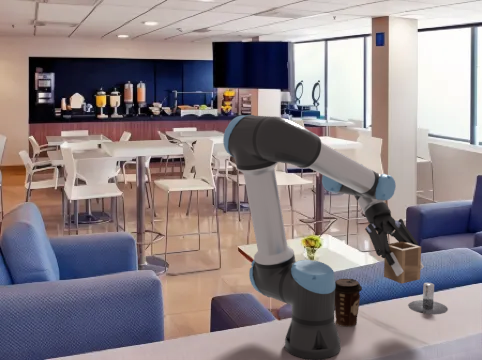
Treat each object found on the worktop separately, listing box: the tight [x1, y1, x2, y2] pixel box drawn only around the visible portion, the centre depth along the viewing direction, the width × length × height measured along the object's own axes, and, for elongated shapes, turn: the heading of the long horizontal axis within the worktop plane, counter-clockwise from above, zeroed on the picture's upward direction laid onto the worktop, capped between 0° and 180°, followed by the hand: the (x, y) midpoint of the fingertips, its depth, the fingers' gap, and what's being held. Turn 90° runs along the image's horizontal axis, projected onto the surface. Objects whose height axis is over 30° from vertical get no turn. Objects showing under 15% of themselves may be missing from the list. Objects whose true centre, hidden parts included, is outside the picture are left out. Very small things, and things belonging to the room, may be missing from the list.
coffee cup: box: [334, 278, 363, 327], centre depth 181 cm, size 9×8×13 cm
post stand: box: [407, 282, 449, 315], centre depth 189 cm, size 12×12×9 cm
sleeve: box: [383, 241, 422, 284], centre depth 178 cm, size 7×7×10 cm
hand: (410, 271), depth 176 cm, fingers closed on sleeve, 7 cm apart
